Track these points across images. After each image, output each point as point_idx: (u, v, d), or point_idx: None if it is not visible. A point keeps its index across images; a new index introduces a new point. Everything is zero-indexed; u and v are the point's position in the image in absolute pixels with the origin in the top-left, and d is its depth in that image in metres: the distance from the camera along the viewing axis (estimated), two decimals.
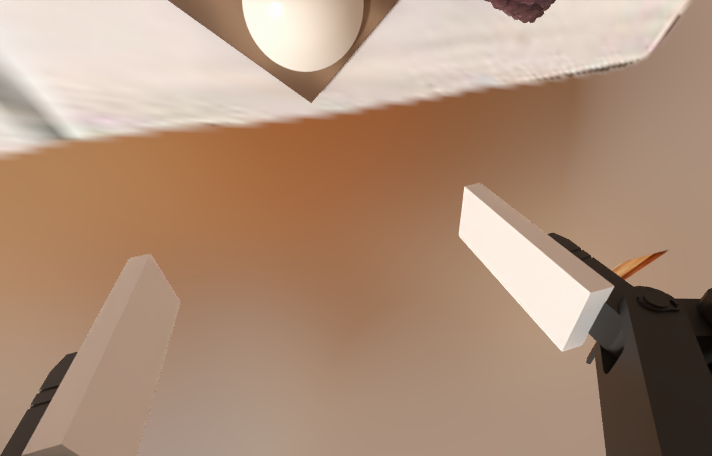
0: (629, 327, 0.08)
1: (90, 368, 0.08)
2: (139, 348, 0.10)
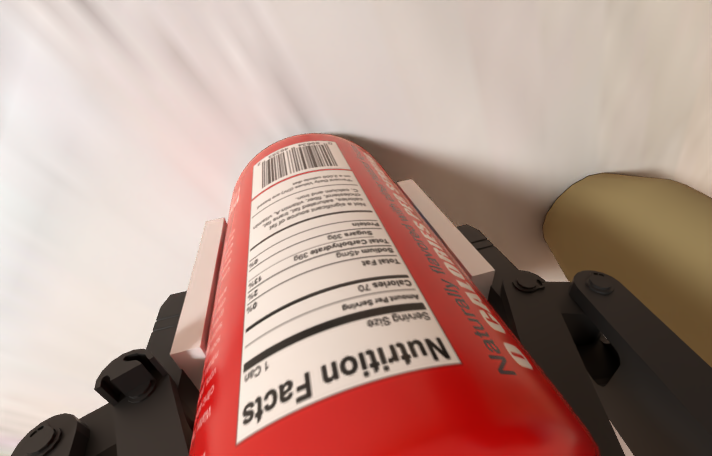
0: (510, 313, 0.08)
1: (203, 298, 0.10)
2: None
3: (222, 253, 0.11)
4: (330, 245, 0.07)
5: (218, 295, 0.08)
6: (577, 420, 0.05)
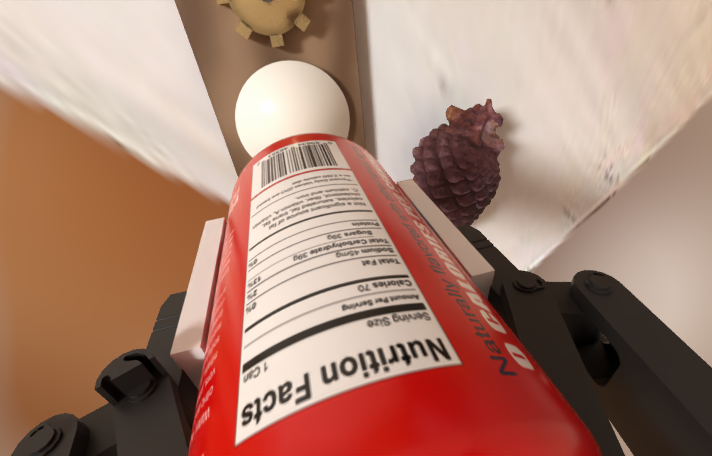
0: (510, 313, 0.08)
1: (203, 298, 0.10)
2: None
3: None
4: (330, 245, 0.07)
5: (217, 295, 0.08)
6: (579, 421, 0.05)
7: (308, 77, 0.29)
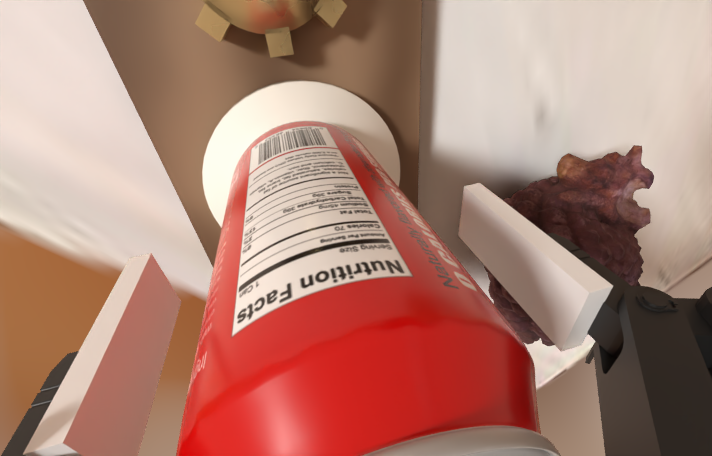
0: (628, 327, 0.08)
1: (91, 367, 0.08)
2: (140, 347, 0.10)
3: None
4: (314, 201, 0.08)
5: (218, 251, 0.09)
6: (509, 327, 0.06)
7: (335, 111, 0.16)
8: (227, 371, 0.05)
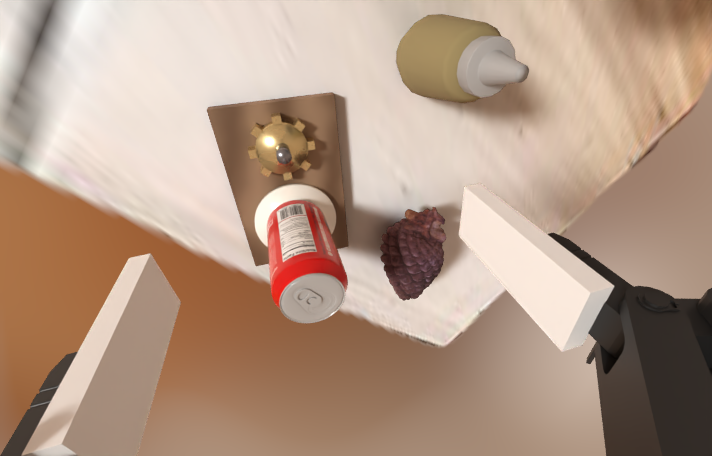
0: (629, 327, 0.08)
1: (90, 368, 0.08)
2: (139, 348, 0.10)
3: (268, 238, 0.37)
4: (298, 235, 0.33)
5: (272, 247, 0.34)
6: (336, 262, 0.31)
7: (307, 194, 0.41)
8: (283, 266, 0.30)
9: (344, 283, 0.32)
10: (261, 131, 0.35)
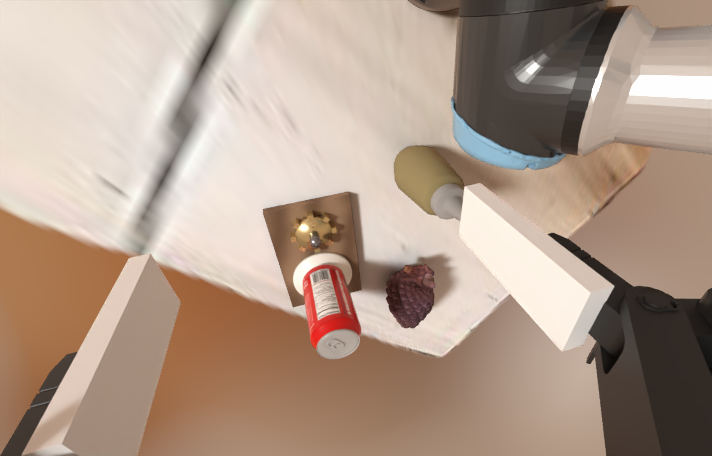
0: (630, 327, 0.08)
1: (90, 368, 0.08)
2: (139, 348, 0.10)
3: (305, 296, 0.52)
4: (327, 298, 0.49)
5: (308, 305, 0.50)
6: (353, 319, 0.47)
7: (331, 259, 0.56)
8: (318, 324, 0.46)
9: (359, 332, 0.47)
10: (300, 225, 0.50)
